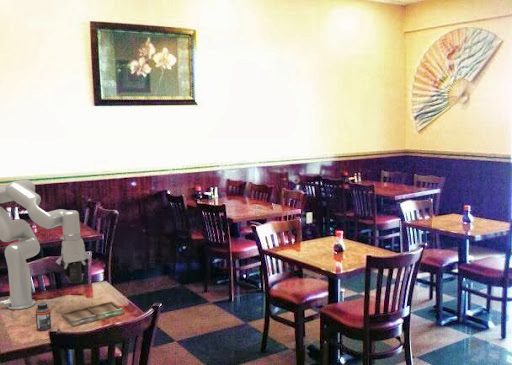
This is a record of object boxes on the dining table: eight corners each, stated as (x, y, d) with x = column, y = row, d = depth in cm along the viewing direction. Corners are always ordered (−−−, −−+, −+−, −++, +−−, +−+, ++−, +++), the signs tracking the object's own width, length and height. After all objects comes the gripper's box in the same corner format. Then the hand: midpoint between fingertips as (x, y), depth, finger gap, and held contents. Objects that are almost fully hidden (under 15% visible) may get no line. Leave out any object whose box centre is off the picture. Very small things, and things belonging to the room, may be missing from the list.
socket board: (72, 327, 236) (72, 323, 236) (61, 316, 248) (61, 313, 248) (124, 313, 251) (124, 310, 251) (111, 304, 263) (111, 301, 263)
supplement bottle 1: (39, 325, 238) (37, 301, 236) (52, 325, 238) (51, 300, 237) (34, 331, 232) (33, 306, 230) (48, 330, 232) (47, 305, 231)
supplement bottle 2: (86, 279, 253) (84, 254, 252) (76, 284, 247) (74, 258, 245) (74, 278, 256) (72, 254, 254) (64, 283, 249) (62, 257, 248)
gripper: (55, 241, 241) (58, 280, 243) (93, 235, 251) (95, 272, 253) (50, 239, 247) (53, 276, 249) (87, 233, 257) (90, 269, 259)
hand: (74, 274), depth 251 cm, fingers closed on supplement bottle 2, 6 cm apart
